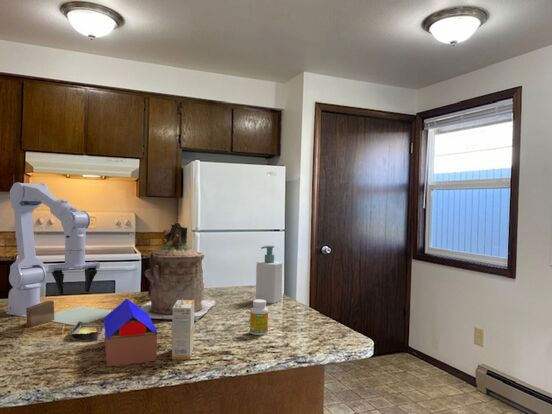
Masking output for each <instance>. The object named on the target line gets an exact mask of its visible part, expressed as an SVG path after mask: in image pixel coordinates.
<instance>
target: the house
mask: <svg viewBox="0 0 552 414" xmlns="http://www.w3.org/2000/svg"><path fill="white" fill-rule="evenodd" d="M111 311H112V312H110V313H109V314H108V315H107V316H106V317H104V318H103V323H104V325H105V326H104V327H105V334H104V347H105V348H104V349H105V358H106V367H115V366H122V365H133V364H139V363H141V364H142V363H147V362H149V363H150V362H157V354H158V353H157V348H158V347H157V346H158V336H159V333H158V331H157V328H156V327H155V324H154V323H153V321H152V318H150V316H149V315H148V314H147V313H146V312H144V311H143V310H142V309H140V307H139V306H138V305H136V304H135V303H133V301H131V300H130V299H129V298H126V299H124V300H123V301H122V302H121V303H120V304H119V305H118V306H116V307H115V308H114V309H113V310H111Z"/></svg>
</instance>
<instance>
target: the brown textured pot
mask: <svg viewBox="0 0 552 414" xmlns="http://www.w3.org/2000/svg"><path fill="white" fill-rule="evenodd" d="M187 234H188V227H187V226H184V225H181V224H180V221H179V222H175V223H171V228H166V229H164V230H163V232H162V238H163V239H165V240H166V241H165V242H164V245H162V246H161V247H160V248H158V249H157V250H156V251H151V252H150V255H149V263H150V269H145V271H144V275H145V277H146V278H147V279H148V281H149V282H150V285H149V288H148V293H147V297H148V298H149V300H150V301H149V302H146V303H144V304H143V305H141V306H140V307H139V308H140V309H142V310H143V311H144V312H146V313H147V314H148V315H149V316H150V318H151V319H153V320H155V319H158V320H172V319H173V307H174V305H175V303H176V302H177V300H194V322H197V323H198V322H199V319H200V318H202V317H203V316H205V315H206V314H207V312H208V311H210V310H211V309H212V308H214V307H215V304H216V301H215V300H203V295H204V294H203V293H204V292H205V291H204V289H205V283H204V275H203V273H204V272H203V270H204V269H203V264H202V263H203V260H204V258H205V253H203V252H201V251H196V250H194V249H192V248H190V247H189V245H188V244H187V243H188V242H187V239H188V235H187Z"/></svg>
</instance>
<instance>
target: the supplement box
mask: <svg viewBox="0 0 552 414" xmlns="http://www.w3.org/2000/svg"><path fill="white" fill-rule="evenodd" d="M171 320H172V327H171V359H172V360H191V358H192V355H193V351H194V343H195V340H194V338H195V336H194V335H195V333H194V331H195V321H194V300H177V302H176V303H175V305H174V307H173V319H171Z"/></svg>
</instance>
